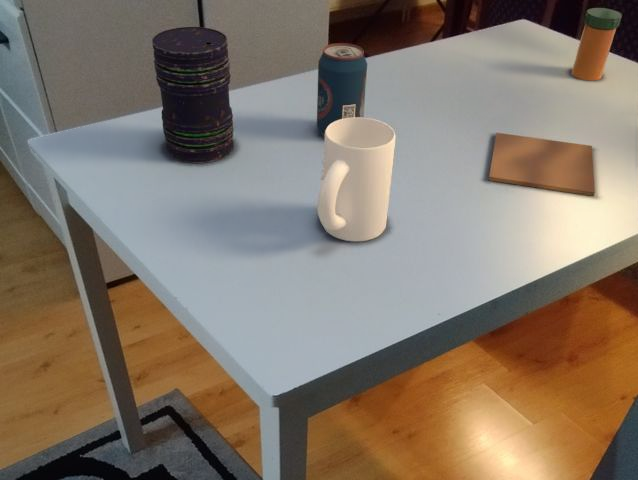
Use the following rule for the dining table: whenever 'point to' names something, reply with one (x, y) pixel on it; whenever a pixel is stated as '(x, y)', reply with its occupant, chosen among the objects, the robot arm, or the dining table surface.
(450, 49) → the dining table surface
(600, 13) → the jar lid
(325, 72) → the soda can
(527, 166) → the mat
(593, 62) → the jar
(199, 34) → the dark ridged cylinder
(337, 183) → the mug
